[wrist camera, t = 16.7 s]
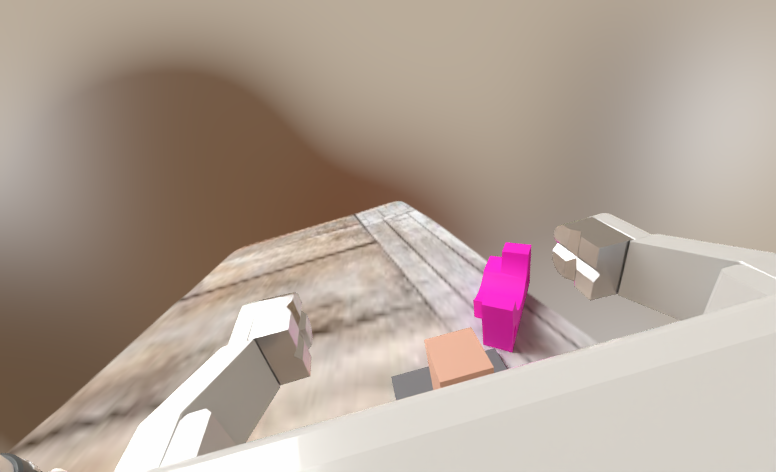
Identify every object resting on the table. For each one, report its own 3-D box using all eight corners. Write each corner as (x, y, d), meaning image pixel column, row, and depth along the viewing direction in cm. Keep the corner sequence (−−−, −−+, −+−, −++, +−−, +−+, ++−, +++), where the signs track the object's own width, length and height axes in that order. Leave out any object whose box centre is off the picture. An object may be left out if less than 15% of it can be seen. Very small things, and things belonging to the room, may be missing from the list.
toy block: (490, 276, 55) (489, 240, 51) (529, 283, 52) (531, 245, 48) (465, 340, 44) (461, 300, 41) (512, 353, 41) (512, 311, 38)
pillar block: (449, 443, 32) (439, 382, 27) (434, 399, 37) (424, 339, 32) (495, 430, 33) (493, 367, 28) (475, 387, 37) (471, 327, 32)
